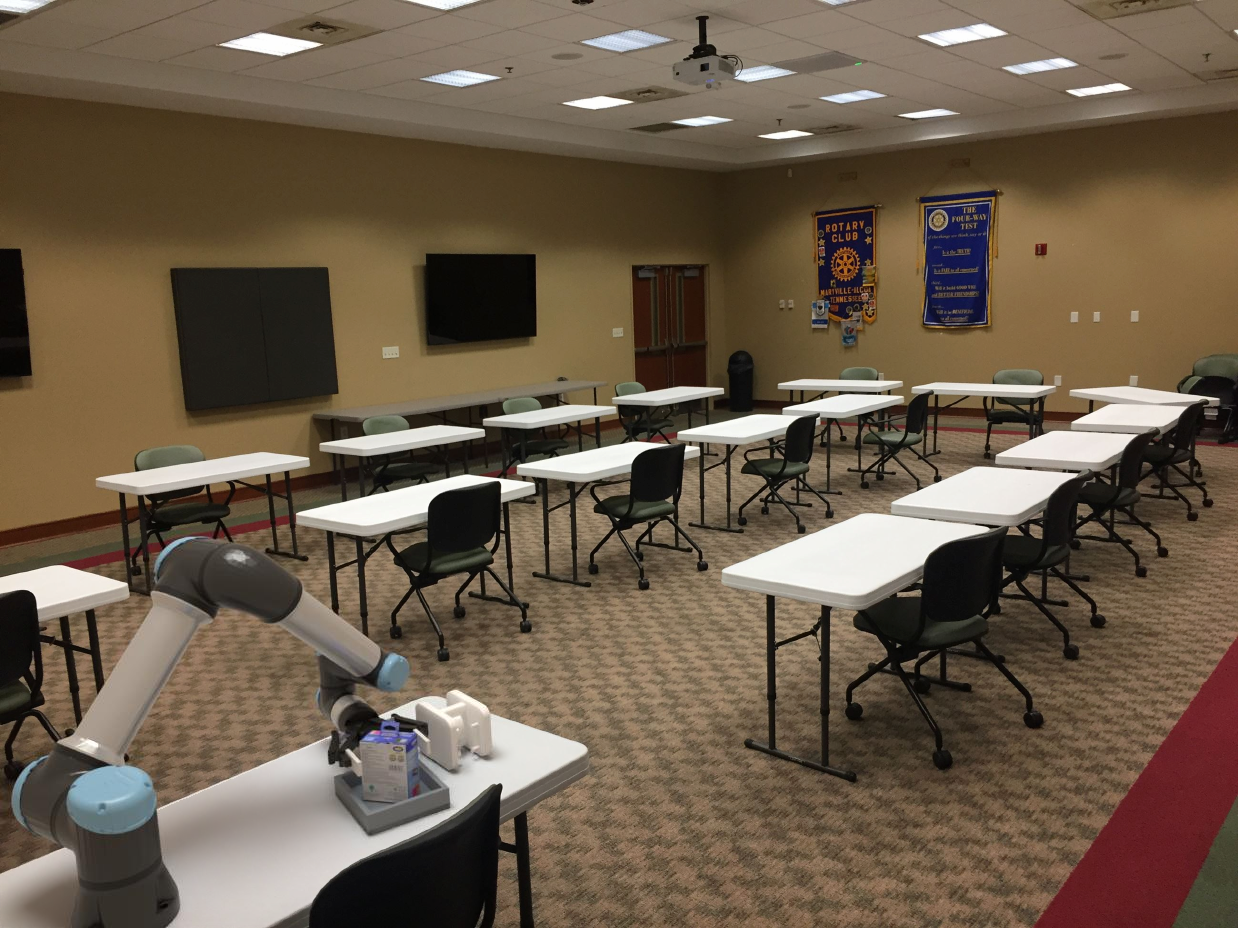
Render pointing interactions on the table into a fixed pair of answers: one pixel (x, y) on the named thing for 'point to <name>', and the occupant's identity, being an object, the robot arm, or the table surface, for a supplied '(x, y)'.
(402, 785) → the ink cartridge box
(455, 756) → the cable organizer
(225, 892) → the table surface
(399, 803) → the tray
